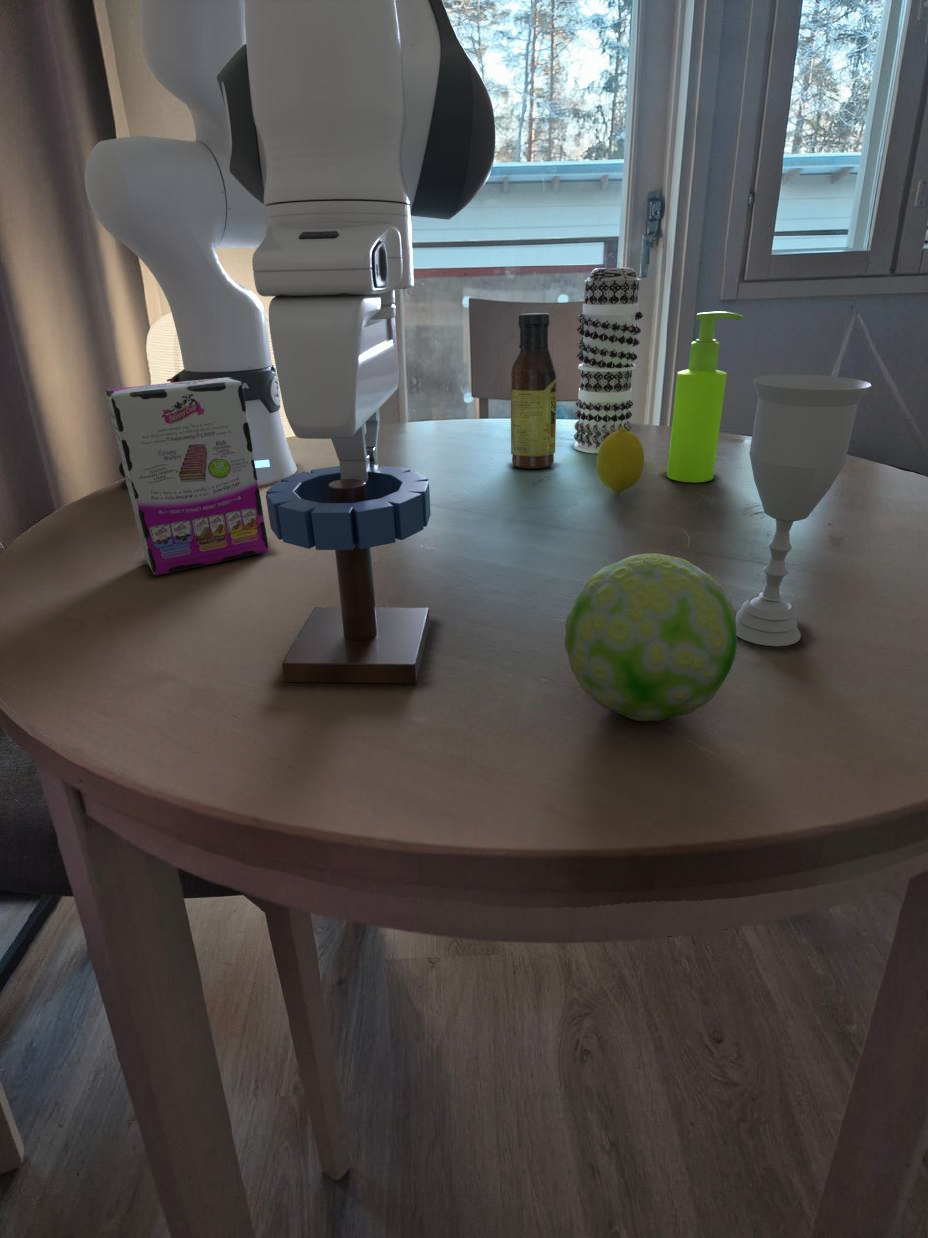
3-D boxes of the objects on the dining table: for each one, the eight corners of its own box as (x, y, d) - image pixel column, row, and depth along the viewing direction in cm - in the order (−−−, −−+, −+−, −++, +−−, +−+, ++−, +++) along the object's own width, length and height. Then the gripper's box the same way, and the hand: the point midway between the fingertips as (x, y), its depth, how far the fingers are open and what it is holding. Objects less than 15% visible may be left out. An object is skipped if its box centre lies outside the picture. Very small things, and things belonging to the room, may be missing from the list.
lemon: (641, 501, 85) (647, 433, 81) (593, 499, 86) (598, 432, 82) (640, 488, 90) (646, 423, 86) (595, 487, 91) (599, 422, 87)
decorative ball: (737, 763, 40) (767, 598, 35) (556, 747, 41) (564, 588, 37) (713, 674, 48) (735, 533, 44) (565, 663, 50) (572, 527, 46)
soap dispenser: (721, 484, 91) (744, 313, 82) (664, 480, 93) (682, 313, 84) (721, 473, 96) (744, 310, 87) (668, 470, 98) (685, 310, 89)
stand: (284, 682, 48) (257, 503, 43) (316, 623, 57) (297, 466, 51) (416, 684, 48) (406, 503, 42) (429, 624, 56) (422, 466, 51)
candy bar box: (255, 539, 75) (229, 375, 68) (270, 553, 71) (245, 380, 64) (142, 561, 70) (101, 386, 63) (152, 577, 66) (110, 393, 59)
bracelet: (250, 549, 44) (244, 512, 43) (297, 496, 53) (292, 464, 52) (419, 550, 43) (417, 512, 42) (436, 496, 52) (435, 464, 51)
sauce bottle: (560, 469, 99) (566, 313, 91) (516, 471, 98) (518, 315, 90) (547, 458, 105) (552, 311, 96) (505, 460, 104) (506, 312, 96)
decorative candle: (595, 438, 117) (606, 268, 106) (643, 447, 111) (659, 266, 100) (559, 447, 111) (566, 268, 100) (607, 457, 105) (620, 267, 94)
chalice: (837, 645, 52) (898, 385, 44) (757, 659, 50) (805, 392, 42) (771, 605, 58) (814, 372, 50) (697, 616, 56) (730, 377, 49)
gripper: (330, 263, 54) (346, 445, 60) (239, 258, 36) (276, 521, 42) (412, 261, 54) (420, 445, 60) (363, 255, 36) (382, 521, 42)
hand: (360, 477), depth 51 cm, fingers closed on bracelet, 2 cm apart
